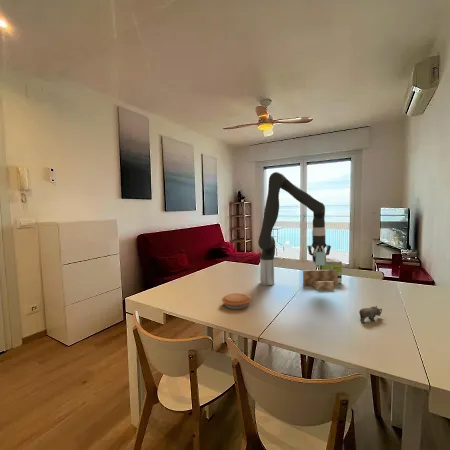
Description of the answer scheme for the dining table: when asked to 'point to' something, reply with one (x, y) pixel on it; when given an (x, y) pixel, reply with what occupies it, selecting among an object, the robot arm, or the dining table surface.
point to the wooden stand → (320, 279)
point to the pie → (236, 301)
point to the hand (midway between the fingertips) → (319, 261)
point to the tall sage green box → (320, 257)
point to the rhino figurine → (369, 313)
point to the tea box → (333, 267)
